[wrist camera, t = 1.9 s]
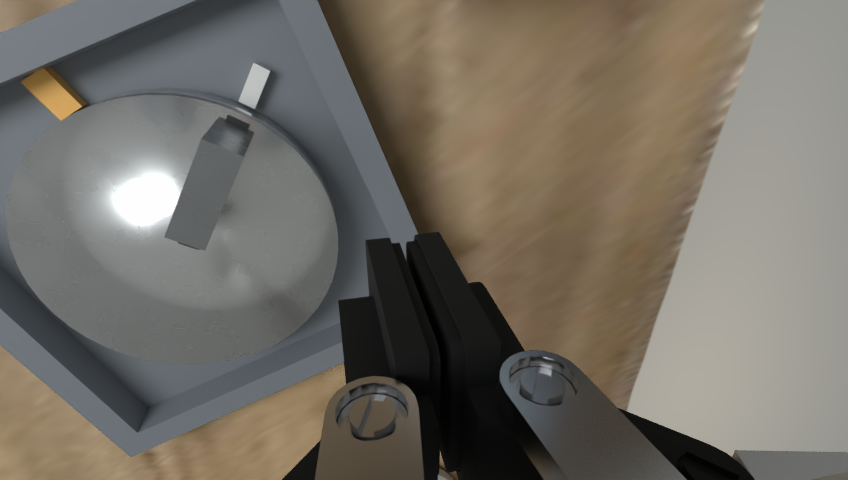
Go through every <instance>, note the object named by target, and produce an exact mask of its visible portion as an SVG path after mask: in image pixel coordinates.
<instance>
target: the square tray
mask: <svg viewBox="0 0 848 480" xmlns="http://www.w3.org/2000/svg"><path fill="white" fill-rule="evenodd" d="M156 88H168V89H186V90H193V91H200V92H206V93H209V94H213V95H217V96H220V97H224V98H227V99H230V100H232V101H235V102H237V103H240V104H242V105H245V106H247V107H249V108H251V109H253V110H255V111H256V112H258V113H260V114H262V115H264V116H266V117H267V118H268V119H270V120H271V121H273V122H274V123H276V124H277V125H278V126H280V127H281V128H283V129H284V130H285V131H286V132H287V133H288V134H289V135H291V136H292V137H293V138H294V139H295V140H296V141H297V142H298V143H299V144H300V145H301V146H302V148H303V149H304V150H305V151H306V152H307V153H308V154H309V156H310V157H311V158H312V160H313V161H314V163H315V164H316V166H317V167H318V169H319V170H320V172H321V174H322V176H323V178H324V180H325V182H326V184H327V186H328V189H329V192H330V195H331V198H332V201H333V205H334V210H335V216H336V223H337V231H338V257H337V265H336V269H335V273H334V276H333V280H332V282H331V285H330V287H329V289H328V292H327V294H326V296H325V297H324V299H323V300H322V302H321V304H320V305H319V307H318V308H317V309H316V311H315V312H314V313H313V314H312V315H311V317H310V318H309V319H308V320H307V321H306V322H305V323H304V324H303V325H302V326H301V327H300V328H298V329H297V330H296V331H295V332H293V333H292V334H291V335H289V336H288V337H286V338H285V339H284V340H282V341H280V342H278V343H277V344H275V345H273V346H271V347H269V348H267V349H265V350H262V351H260V352H258V353H255V354H253V355H250V356H246V357H243V358H240V359H236V360H231V361H226V362H221V363H213V364H203V365H179V364H167V363H160V362H154V361H148V360H143V359H140V358H136V357H132V356H129V355H125V354H122V353H120V352H117V351H115V350H112V349H109V348H107V347H105V346H103V345H101V344H99V343H97V342H95V341H93V340H91V339H89V338H87V337H85V336H84V335H82V334H80V333H79V332H77V331H76V330H74V329H73V328H71V327H70V326H68V325H67V324H66V323H65V322H63V321H62V320H61V319H60V318H58V317H57V316H56V315H55V314H54V313H53V312H52V311H51V310H50V309H49V308H48V307H47V306H46V305H45V304H44V303H43V302H42V301H41V300H40V299H39V298H38V297H37V295H36V294H35V293H34V291H33V290H32V289H31V288H30V286H29V285H28V284H27V282H26V280H25V278H24V277H23V275H22V273H21V271H20V270H19V268H18V266H17V263H16V261H15V258H14V256H13V253H12V251H11V248H10V243H9V239H8V234H7V229H6V204H7V198H8V191H9V188H10V185H11V182H12V179H13V176H14V173H15V171H16V169H17V167H18V166H19V164H20V162H21V160H22V159H23V157H24V155H25V154H26V152H27V151H28V150H29V149H30V148H31V146H32V145H33V144H34V143H35V142H36V141H37V139H38V138H39V137H41V136H42V135H43V134H44V133H45V132H47V131H48V130H49V129H50V128H51V127H53V126H54V125H55V124H56V123H58V122H60V121H62V120H63V119H65V118H67V117H68V116H70V115H72V114H73V113H75V112H77V111H80V110H82V109H84V108H86V107H88V106H91V105H93V104H95V103H98V102H100V101H103V100H105V99H108V98H110V97H113V96H116V95H120V94H124V93H128V92H132V91H137V90H147V89H156ZM417 234H418V232H417V230H416V228H415V225H414V223H413V221H412V219H411V216H410V214H409V212H408V209H407V207H406V205H405V202H404V200H403V198H402V195H401V193H400V191H399V188H398V186H397V184H396V181H395V179H394V177H393V174H392V172H391V170H390V168H389V165H388V163H387V161H386V158H385V156H384V154H383V151H382V149H381V147H380V144H379V142H378V140H377V137H376V135H375V133H374V130H373V128H372V126H371V123H370V121H369V119H368V117H367V114H366V112H365V110H364V107H363V105H362V103H361V100H360V98H359V96H358V93H357V91H356V89H355V86H354V84H353V82H352V79H351V77H350V75H349V73H348V70H347V68H346V66H345V63H344V61H343V59H342V56H341V54H340V52H339V49H338V47H337V45H336V42H335V40H334V38H333V35H332V33H331V31H330V28H329V26H328V24H327V22H326V19H325V17H324V15H323V12H322V10H321V8H320V5H319V3H318V1H317V0H77V1H75V2H73V3H70V4H68V5H65V6H63V7H61V8H58V9H56V10H54V11H51V12H49V13H46V14H44V15H42V16H39V17H37V18H35V19H32V20H30V21H27V22H25V23H23V24H20V25H18V26H16V27H13V28H11V29H9V30H6V31H4V32H1V33H0V345H1V346H2V347H3V348H4V349H5V350H6V351H8V352H9V353H10V354H11V355H12V356H13V357H15V358H16V359H17V360H18V361H19V362H20V363H22V364H23V365H24V366H25V367H26V368H27V369H29V370H30V371H31V372H32V373H33V374H34V375H36V376H37V377H38V378H39V379H40V380H41V381H43V382H44V383H45V384H46V385H47V386H48V387H50V388H51V389H52V390H53V391H54V392H55V393H57V394H58V395H59V396H60V397H61V398H62V399H64V400H65V401H66V402H67V403H68V404H69V405H71V406H72V407H73V408H74V409H75V410H76V411H78V412H79V413H80V414H81V415H82V416H83V417H85V418H86V419H87V420H88V421H89V422H90V423H92V424H93V425H94V426H95V427H96V428H97V429H99V430H100V431H101V432H102V433H103V434H104V435H106V436H107V437H108V438H109V439H110V440H111V441H113V442H114V443H115V444H116V445H117V446H118V447H120V448H121V449H122V450H123V451H124V452H125V453H127V454H128V455H129V456H130V457H132V456H135V455H137V454H139V453H141V452H144V451H146V450H148V449H150V448H153V447H155V446H157V445H159V444H162V443H164V442H166V441H168V440H170V439H173V438H175V437H177V436H179V435H182V434H184V433H186V432H188V431H191V430H193V429H195V428H197V427H200V426H202V425H204V424H206V423H209V422H211V421H213V420H215V419H218V418H220V417H222V416H224V415H226V414H229V413H231V412H233V411H235V410H238V409H240V408H242V407H244V406H247V405H249V404H251V403H253V402H256V401H258V400H260V399H262V398H265V397H267V396H269V395H271V394H273V393H276V392H278V391H280V390H282V389H285V388H287V387H289V386H291V385H294V384H296V383H298V382H300V381H303V380H305V379H307V378H309V377H312V376H314V375H316V374H318V373H321V372H323V371H325V370H327V369H329V368H332V367H334V366H336V365H338V364H341V363H343V362H344V356H343V345H342V335H341V325H340V314H339V304H338V300H343V299H351V298H359V297H367V296H369V287H368V274H367V261H366V247H365V240H370V239H379V238H390V240H391V243H400V245H401V248H402V250H403V253H404V256H405V258H406V243H407V242H409V241H414V236H415V235H417Z"/></svg>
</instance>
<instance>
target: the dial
mask: <svg viewBox="0 0 848 480" xmlns="http://www.w3.org/2000/svg"><path fill="white" fill-rule="evenodd" d="M6 229H7V234H8V239H9V243H10V248H11V251H12V253H13V256H14V258H15V261H16V263H17V266H18V268H19V270H20V271H21V273H22V275H23V277H24V278H25V280H26V282H27V284H28V285H29V286H30V288H31V289H32V290H33V291H34V293H35V294H36V295H37V297H38V298H39V299H40V300H41V301H42V302H43V303H44V304H45V305H46V306H47V307H48V308H49V309H50V310H51V311H52V312H53V313H54V314H55V315H56V316H57V317H58V318H60V319H61V320H62V321H63V322H65V323H66V324H67V325H68V326H70V327H71V328H73V329H74V330H76V331H77V332H79V333H80V334H82V335H84V336H85V337H87V338H89V339H91V340H93V341H95V342H97V343H99V344H101V345H103V346H105V347H107V348H109V349H112V350H115V351H117V352H120V353H122V354H125V355H129V356H132V357H136V358H140V359H143V360H148V361H154V362H160V363H167V364H179V365H203V364H213V363H221V362H226V361H231V360H236V359H240V358H243V357H246V356H250V355H253V354H255V353H258V352H260V351H262V350H265V349H267V348H269V347H271V346H273V345H275V344H277V343H278V342H280V341H282V340H284V339H285V338H286V337H288V336H289V335H291V334H292V333H293V332H295V331H296V330H297V329H298V328H300V327H301V326H302V325H303V324H304V323H305V322H306V321H307V320H308V319H309V318H310V317H311V315H312V314H313V313H314V312H315V311H316V309H317V308H318V307H319V305H320V304H321V302H322V300H323V299H324V297H325V296H326V294H327V292H328V289H329V287H330V285H331V282H332V280H333V276H334V273H335V269H336V265H337V257H338V231H337V223H336V216H335V210H334V205H333V201H332V198H331V195H330V192H329V189H328V186H327V184H326V182H325V180H324V178H323V176H322V174H321V172H320V170H319V169H318V167H317V166H316V164H315V163H314V161H313V160H312V158H311V157H310V156H309V154H308V153H307V152H306V151H305V150H304V149H303V148H302V146H301V145H300V144H299V143H298V142H297V141H296V140H295V139H294V138H293V137H292V136H291V135H289V134H288V133H287V132H286V131H285V130H284V129H283V128H281V127H280V126H278V125H277V124H276V123H274V122H273V121H271V120H270V119H268V118H267V117H266V116H264V115H262V114H260V113H258V112H256V111H255V110H253V109H251V108H249V107H247V106H245V105H242V104H240V103H237V102H235V101H232V100H230V99H227V98H224V97H220V96H217V95H213V94H209V93H206V92H200V91H193V90H186V89H168V88H156V89H147V90H137V91H132V92H128V93H124V94H120V95H116V96H113V97H110V98H108V99H105V100H103V101H100V102H98V103H95V104H93V105H91V106H88V107H86V108H84V109H82V110H80V111H77V112H75V113H73V114H72V115H70V116H68V117H67V118H65V119H63V120H62V121H60V122H58V123H56V124H55V125H54V126H53V127H51V128H50V129H49V130H48V131H47V132H45V133H44V134H43V135H42V136H41V137H39V138H38V139H37V141H36V142H35V143H34V144H33V145H32V146H31V148H30V149H29V150H28V151H27V152H26V154H25V155H24V157H23V159H22V160H21V162H20V164H19V166H18V167H17V169H16V171H15V173H14V176H13V179H12V182H11V185H10V188H9V191H8V198H7V204H6Z"/></svg>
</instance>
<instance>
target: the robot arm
mask: <svg viewBox="0 0 848 480" xmlns="http://www.w3.org/2000/svg"><path fill="white" fill-rule="evenodd" d="M365 247H366V261H367V274H368V287H369V296H367V297H359V298H351V299H343V300H338V304H339V314H340V325H341V335H342V345H343V356H344V366H345V376H346V385H345V386H343V387H342V388H341V389H339V390H338V391H337V392H336V393H335V394H334V395H333V397H332V398H331V399H330V401H329V402H328V405H327V408H326V411H325V416H324V422H323V429H322V435H321V440H320V441H319V442H318V443H317V444H316V445H315V447H314V448H313V449H312V450H311V451H310V452H309V453H308V454H307V455H306V456H305V457H304V458H303V459H302V460H301V461H300V462H299V463H298V464H297V465H296V466H295V467H294V468H293V469H292V470H291V471H290V472H289V473H288V474H287V475H286V476H285V477H284V478H283V479H282V480H454V479H453V478H452V477H451V476H450V475H449V474H448V473H447V472H453V471H456V472H457V476H458V479H459V480H848V453H846V452H798V451H797V452H796V451H738V450H735V452H734V454H733V456H732V457H731V456H729V455H728V454H727V453H725V452H723V451H721V450H719V449H717V448H715V447H713V446H711V445H709V444H707V443H704V442H702V441H699V440H697V439H694V438H692V437H689V436H687V435H684V434H681V433H679V432H677V431H674V430H671V429H669V428H666V427H664V426H662V425H659V424H657V423H654V422H652V421H649V420H647V419H644V418H641V417H639V416H637V415H634V414H631V413H629V412H626V411H624V410H621V409H619V408H617V407H616V406H615V405H614V404H613V403H612V402H611V401H610V400H609V399H608V398H607V397H606V396H605V395H604V394H603V393H602V392H601V391H600V390H599V388H598V387H597V386H596V385H595V384H594V383H593V382H592V381H591V380H590V379H589V378H588V377H587V376H586V375H585V374H584V373H583V372H582V371H581V370H580V369H579V368H578V367H577V366H575V365H574V364H573V363H572V362H571V361H569V360H567V359H565V358H563V357H561V356H559V355H557V354H554V353H550V352H546V351H536V350H530V351H525V350H524V349H523V347H522V346H521V344H520V342H519V341H518V339H517V338H516V336H515V334H514V333H513V331H512V330H511V328H510V326H509V325H508V323H507V321H506V320H505V318H504V317H503V315H502V313H501V312H500V310H499V309H498V307H497V305H496V304H495V302H494V300H493V299H492V297H491V296H490V294H489V292H488V291H487V289H486V288H485V286H484V285H483V284H482V283H481V282H474V283H468V282H467V280H466V279H465V277H464V275H463V273H462V272H461V270H460V268H459V266H458V265H457V263H456V261H455V259H454V258H453V256H452V254H451V252H450V250H449V249H448V247H447V245H446V243H445V242H444V240H443V238H442V236H441V235H440V233H439V232H436V233H426V234H417V235H415V236H414V241H409V242H407V243H406V258H405V256H404V253H403V250H402V248H401V245H400V243H391V240H390V238H379V239H370V240H365ZM440 451H441V455H442V458H443V462H444V465H445V468H446V470H447V472H445V471H444V470H442V469H440V468H439V458H440Z"/></svg>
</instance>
